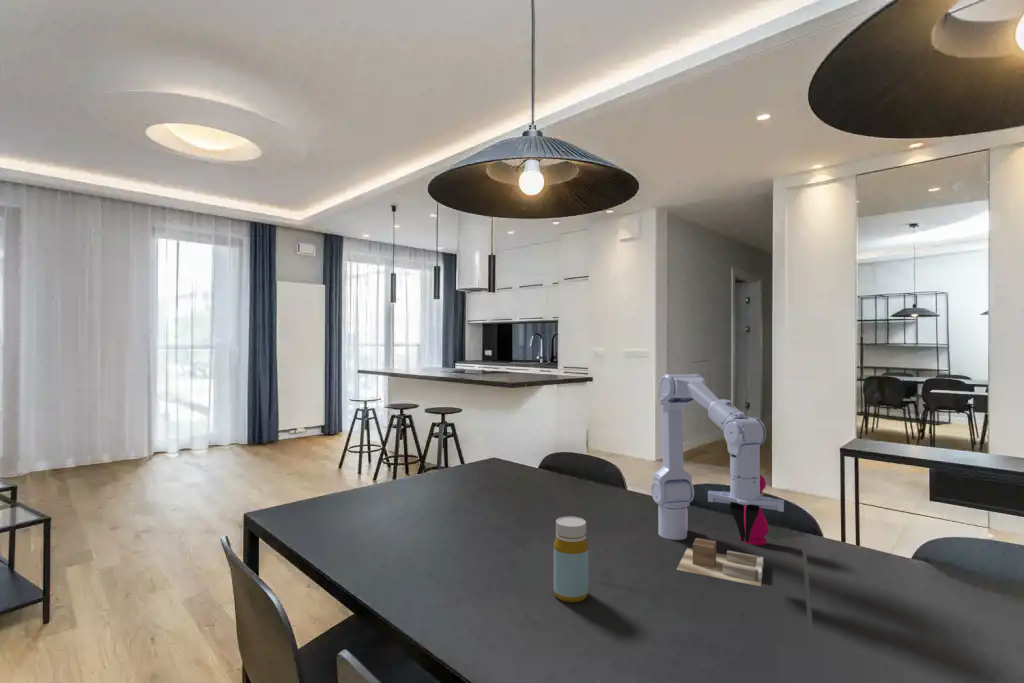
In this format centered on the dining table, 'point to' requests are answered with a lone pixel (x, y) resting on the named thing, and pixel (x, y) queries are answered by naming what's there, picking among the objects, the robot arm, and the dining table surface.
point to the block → (704, 552)
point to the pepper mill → (758, 522)
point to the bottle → (571, 560)
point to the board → (727, 567)
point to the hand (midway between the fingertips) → (745, 540)
